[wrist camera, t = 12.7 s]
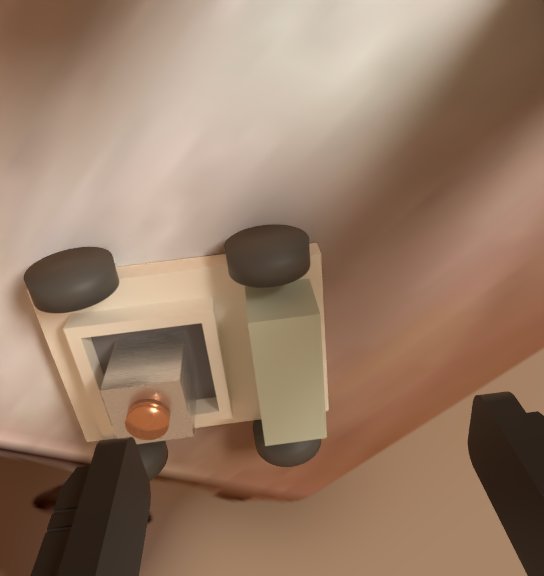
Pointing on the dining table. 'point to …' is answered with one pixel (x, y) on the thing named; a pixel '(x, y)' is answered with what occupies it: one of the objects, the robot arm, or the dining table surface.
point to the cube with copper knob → (151, 388)
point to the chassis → (200, 334)
